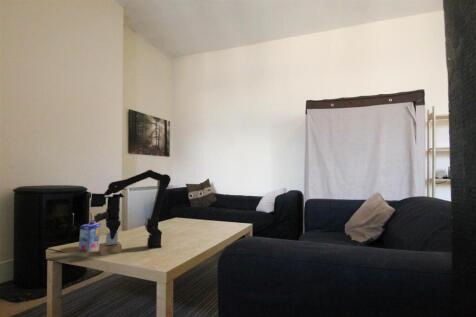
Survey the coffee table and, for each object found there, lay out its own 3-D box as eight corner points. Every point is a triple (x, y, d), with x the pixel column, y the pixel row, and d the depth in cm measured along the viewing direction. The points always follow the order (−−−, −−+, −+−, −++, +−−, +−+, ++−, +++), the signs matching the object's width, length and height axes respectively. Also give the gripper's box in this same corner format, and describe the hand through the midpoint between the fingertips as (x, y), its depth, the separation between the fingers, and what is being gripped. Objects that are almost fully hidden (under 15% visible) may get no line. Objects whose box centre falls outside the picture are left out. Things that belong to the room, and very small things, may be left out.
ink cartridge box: (88, 250, 130) (90, 221, 131) (77, 250, 130) (79, 221, 132) (99, 245, 140) (101, 218, 141) (89, 245, 140) (91, 218, 141)
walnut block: (118, 249, 134) (118, 241, 134) (121, 253, 126) (121, 245, 127) (98, 251, 129) (99, 243, 129) (100, 256, 122) (101, 247, 122)
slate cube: (116, 241, 132) (117, 231, 133) (117, 243, 128) (117, 233, 128) (105, 242, 130) (106, 232, 130) (106, 245, 125) (106, 234, 126)
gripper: (95, 205, 135) (94, 235, 133) (94, 209, 118) (93, 243, 117) (119, 204, 140) (117, 233, 139) (121, 208, 123) (119, 241, 122)
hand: (111, 237), depth 129 cm, fingers open, 6 cm apart
